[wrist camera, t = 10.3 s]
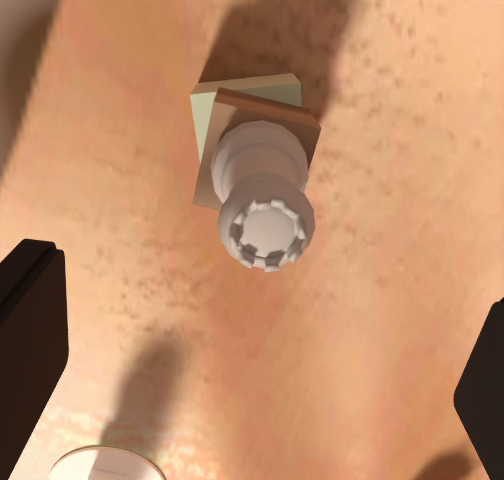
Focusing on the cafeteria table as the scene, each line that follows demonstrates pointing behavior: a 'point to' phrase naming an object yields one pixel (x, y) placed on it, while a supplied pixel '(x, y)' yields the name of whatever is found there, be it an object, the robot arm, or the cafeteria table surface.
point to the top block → (242, 111)
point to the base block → (263, 86)
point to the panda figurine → (104, 466)
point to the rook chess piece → (262, 195)
